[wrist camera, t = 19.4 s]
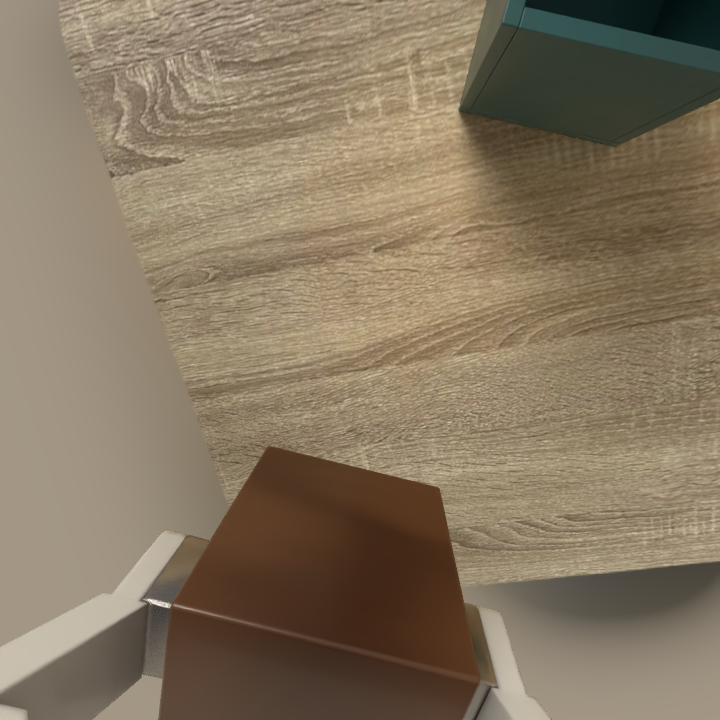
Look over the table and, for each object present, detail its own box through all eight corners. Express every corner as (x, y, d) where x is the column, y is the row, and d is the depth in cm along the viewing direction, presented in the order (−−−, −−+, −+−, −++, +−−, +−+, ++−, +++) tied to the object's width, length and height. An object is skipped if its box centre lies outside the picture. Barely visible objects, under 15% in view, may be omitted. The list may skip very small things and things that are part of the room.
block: (243, 578, 11) (148, 797, 6) (268, 443, 9) (168, 604, 5) (395, 616, 11) (400, 860, 6) (440, 486, 9) (483, 683, 5)
